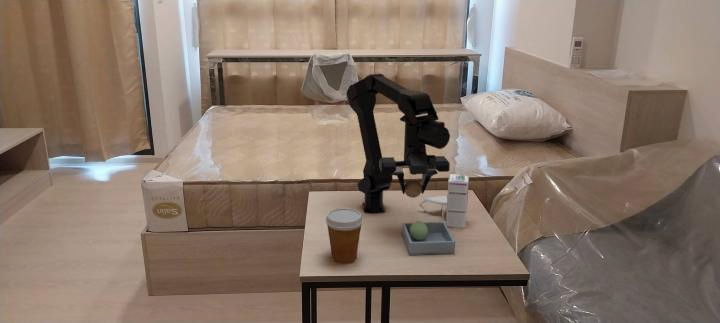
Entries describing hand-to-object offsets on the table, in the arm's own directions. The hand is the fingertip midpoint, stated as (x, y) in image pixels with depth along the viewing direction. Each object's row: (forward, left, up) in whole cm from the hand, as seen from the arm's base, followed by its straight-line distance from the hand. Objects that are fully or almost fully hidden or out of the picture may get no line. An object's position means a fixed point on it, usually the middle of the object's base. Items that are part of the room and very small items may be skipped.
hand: (412, 193), depth 149 cm
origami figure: (-11, +10, -12) cm, 19 cm away
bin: (+8, +3, -11) cm, 14 cm away
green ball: (+7, +1, -11) cm, 13 cm away
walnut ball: (0, 0, -1) cm, 1 cm away
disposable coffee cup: (+14, -20, -12) cm, 27 cm away
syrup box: (-4, +14, -12) cm, 18 cm away
